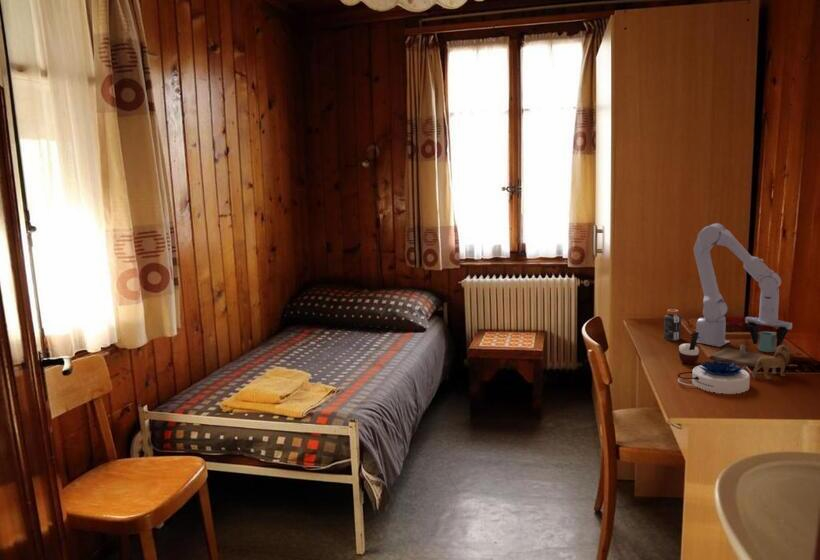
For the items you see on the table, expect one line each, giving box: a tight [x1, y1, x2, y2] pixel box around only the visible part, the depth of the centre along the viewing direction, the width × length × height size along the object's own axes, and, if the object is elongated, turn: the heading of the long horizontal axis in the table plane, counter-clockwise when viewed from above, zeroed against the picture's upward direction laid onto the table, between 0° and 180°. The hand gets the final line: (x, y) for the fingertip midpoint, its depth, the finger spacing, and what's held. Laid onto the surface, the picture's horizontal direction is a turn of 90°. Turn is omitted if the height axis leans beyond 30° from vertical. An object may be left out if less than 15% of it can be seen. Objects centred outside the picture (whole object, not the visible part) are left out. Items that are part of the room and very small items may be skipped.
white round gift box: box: [677, 359, 751, 395], centre depth 186 cm, size 7×16×20 cm
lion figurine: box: [751, 344, 791, 380], centre depth 190 cm, size 15×5×9 cm, turn 116°
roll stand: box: [709, 344, 773, 369], centre depth 207 cm, size 16×12×5 cm
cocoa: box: [678, 331, 700, 365], centre depth 206 cm, size 10×6×12 cm
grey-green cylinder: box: [757, 331, 777, 353], centre depth 214 cm, size 5×5×6 cm
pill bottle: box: [663, 308, 682, 341], centre depth 234 cm, size 6×6×11 cm
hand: (766, 345), depth 215 cm, fingers open, 7 cm apart
